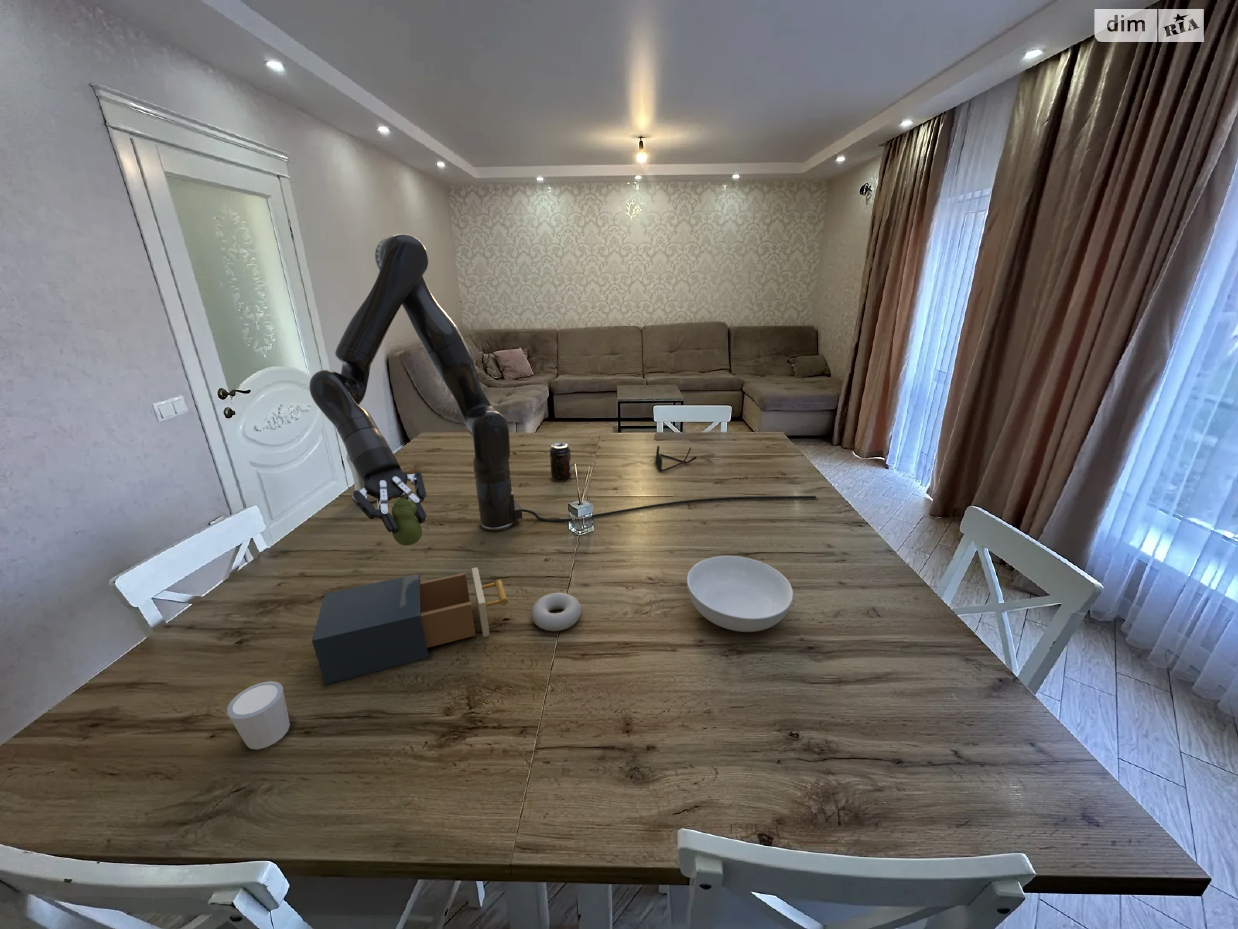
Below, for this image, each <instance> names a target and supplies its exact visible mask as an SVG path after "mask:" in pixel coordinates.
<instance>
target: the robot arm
mask: <svg viewBox="0 0 1238 929" xmlns="http://www.w3.org/2000/svg"><path fill="white" fill-rule="evenodd" d="M374 261H375V264H376V267H377V269H378V275H377V277H376V279H375V281H374V284H373V285H372V288H371V290H370V291H369V293H368V294H367V296H366V297H365V299H364V301H363V302H362V304H360V306H359V308H358V309H357V310H356V312H355V313H354V315H353V316H352V317H351V319H350V321H349V322H348V324H347V326H346V328H345V330H344V331H343V334H342V336H341V337H340V340H339V342H338V344H337V345H336V347H335V352H334V355H335V357H336V359H337V360H338V361H339V362H340V363H341V371H340V373H339V372H337V371H334V370H331V369H322V370H318V371H317V372H315V373H314V374H313V375H312V376H311V378H310V379H309V384H308V385H309V386H308V389H309V394H310V396H311V398H312V400H313V402H314V403H315V405H316V406H317V407H318V409H319V411H321V412H322V413H323V415H324V417H325V418H327V419H328V420H329V421H330V423H332V425H333V426H334V427H335V429H336V431H337V434H338V435H339V437H340V439H341V441H342V443H343V445H344V447H345V450H346V454H347V453H348V455H349V457H350V461H351V462H352V463H353V465H354V467H355V469H356V471H357V473H358V474H359V476H360V478H361V480H362V482H363V484H364V488H363V489H361V490H359V491H358V490H355V489H354V490H353V493H352V495H351V500H352V502H354V504H355V505H356V506H357V508H359V510H361V511H362V513H363V514H364V515H365V516H366V517H367V518H368V519H369V520H374V519H379V520H381V521H382V523H383V525H384V527H385V529H386V531H387V532H388V533H391V534H392V533H393V534H395V533H397V532H398V527H397V525H396V523H395V521H394V519H393V516H392V512H389V506H388V503H389V502H390V501H391V500H394V499H401V498H403V499H409V500H413V501H414V502H415V505H416V507H417V511H416V513H415V518H416V520H417V521H418V522H419V524H420V525H421V524H424V523H425V522H426V518H427V512H426V511H425V510H424V507H423V506H422V504H421V503H423V502H424V500H425V498H426V497H427V490H426V487H425V483H424V479H423V475H422V472H421V471H416V472H415V473H412V474H409V473H408V474H407V473H406V472H405V471H403V470H402V468H401V465H400V464H399V462H398V460H397V458H396V456H395V454H394V453H393V451H392V449H391V447H390V445H389V444H388V441H387V439H386V438H385V437H384V435H383V434H382V433H381V431H380V430H379V428H378V426H377V424H376V422H375V420H374V419H373V416H372V415H371V414H370V412H369V411H368V410H366V409H365V408H363V407H362V406H361V405H360V404H361V403H362V402H363V400H364V398H365V396H366V393H367V389H368V383H369V378H370V372H371V366H372V363H373V362H374V359H375V358H376V356H377V353H378V352H379V350H380V348H381V346H382V344H383V341H384V339H385V337H386V335H387V333H388V331H389V330H390V327H391V325H392V323H393V321H394V320H395V317H396V315H397V314H398V312H399V311H400V309H401V307H402V308H403V309H404V311H405V314H406V315H407V317H408V319H409V321H410V323H411V326H412V327H413V329H414V332H415V334H416V336H417V337H418V339H419V342H420V343H421V345H422V347H423V349H424V351H425V353H426V356H427V357H428V359H429V361H430V362H431V365H432V366H433V367H434V369H435V371H436V373H437V374H438V376H439V378H440V379H441V381H442V382H443V384H444V386H446V388H447V389H448V391H449V392H450V394H451V395H452V397H453V399H454V401H455V403H456V406H457V407H458V410H459V412H460V415H461V417H462V420H463V423H464V425H465V428H466V430H467V432H468V433H469V435H470V436H471V437H472V441H473V450H474V457H473V459H472V465H473V473H474V480H475V490H476V497H477V504H478V512H479V523H480V527H481V528H482V529H483V530H485V531H487V532H499V531H504V530H507V529H509V528H511V527H513V526H516V525H517V520H520V519H521V520H522V519H523V513H528V514H531V515H533V516H534V517H535V518H536V519H537V520H539V521H541V522H548V523H549V522H550V523H551V522H552V523H558V522H560V523H561V522H573V521H572V518H573V517H569V518H556V519H549V518H545V517H541V516H539V515H538V513H537V512H536V511H533V510H530V509H525V508H522V506H521V505H520V503H519V501H515V498H514V497H515V496H514V492H513V490H512V479H511V478H512V477H511V469H510V457H511V441H510V428H509V424H508V421H507V419H506V417H505V416H504V415H503V414H502V413H501V412H499V410H497V409H496V408H495V407H494V406H493V405H492V403H491V402H490V400H489V399H488V397H487V395H486V393H485V392H484V390H483V388H482V386H481V384H480V381H479V378H478V374H477V369H476V366H475V362H474V359H473V356H472V354H471V351H470V348H469V347H468V345H467V343H466V341H465V339H464V337H463V335H462V333H461V330H460V329H459V328H458V326H457V325H456V324H455V322H454V320H452V318H451V317H450V315H448V313H447V312H446V311H445V310H444V309H443V308H442V307H441V305H440V304H439V303H438V301H437V300H436V298H435V297H434V296H433V294H432V292H431V290H430V288H429V285H428V284H427V281H426V279H425V276H424V274H425V273H426V272H427V270H428V267H429V253H428V251H427V249H426V247H425V245H424V244H423V242H422V241H421V240H420V239H419V238H417V237H415V236H414V235H410V234H408V233H397V234H393V235H390V236H388V237H386V238H383V239H382V240H380V241H379V242H378V243H377V245H376V247H375V250H374ZM407 482H409V483H410V484H411V485H412V486H413V487H414V490H415V493H414V492H413V491H412V489H411V488H410V487H409V486H408V485H407V484H408V483H407ZM366 493H367V494H369V495H371V496H373V497H375V498H377V500H376V502H377V508H376V507H375V506H374V505H373V504H372V502H369V501H368V500H367V495H366ZM816 498H817V496H816V495H761V496H760V495H759V496H756V495H754V496H752V495H751V496H725V497H723V496H721V497H707V498H697V499H685V500H678V501H670V502H663V503H656V504H655V503H654V504H649V505H644V506H643V505H642V506H637V507H631V508H624V509H619V510H613V511H607V512H601V513H595V514H591V515H592V517H591V518H596V517H604V516H609V515H614V514H615V515H616V514H622V513H627V512H632V511H638V510H639V511H640V510H644V509H651V508H657V507H666V506H673V505H679V504H689V503H698V502H708V501H709V502H710V501H726V500H727V501H728V500H760V499H761V500H762V499H763V500H764V499H766V500H767V499H769V500H771V499H772V500H773V499H816ZM393 534H392V535H393Z"/></svg>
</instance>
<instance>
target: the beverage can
mask: <svg viewBox="0 0 1238 929" xmlns="http://www.w3.org/2000/svg"><path fill="white" fill-rule="evenodd" d="M571 456H572V454H571V448H570V446H569V443H567V442H555V443H552V444H551V448H550V449H549V462H550V476H551V478H552V480H555V481H557V482H566V481H567V480H569V479H570V478H572V459H571Z"/></svg>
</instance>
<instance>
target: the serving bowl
mask: <svg viewBox="0 0 1238 929" xmlns="http://www.w3.org/2000/svg"><path fill="white" fill-rule="evenodd" d="M686 586H687V587H686V588H687V592H688V597H689V599H690V602H691V603H692V605H693V606H694V608H695V609H696V610H697V611H698V613H699V614H700V615H702V617H704V618H705V619H706V620H707V621H709V622H711V623H712V624H714V625H716V626H719V627H721V628H723V629H727V630H730V631H735V632H741V633H754V632H755V633H756V632H761V631H765V630H767V629H770V628H772V627H775V625H777V624H778V623H780V622H781V621H782V620H783V619H784V618H785V617H786V616H787V614H788V612H789V611H790V608H791V607H792V604H793V600H794V589H793V587H792V585H791V583H790V581H789V580H788V579H787V578H786V576H784V574H782V572H780V571H778V570H777V569H776V568H775V567H772V566H771V565H769V564H766V563H765V562H762V561H760V560H757V559H753V558H749V557H745V556H738V555H718V556H713V557H708V558H705V559H702V560H701V561H698V562H697V563H695V564H694V565H693V566H692V567H691V568H690V569H689V571H688V573H687V577H686Z"/></svg>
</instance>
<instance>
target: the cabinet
mask: <svg viewBox="0 0 1238 929" xmlns="http://www.w3.org/2000/svg"><path fill="white" fill-rule="evenodd" d="M420 582H421V578H420V574H419V573H417V574H411V575H407V576H401V577H397V578H393V579H388V580H383V581H377V582H374V583H373V582H372V583H368V584H364V585H359V586H354V587H349V588H343V589H338V590H333V591H329V592H325V593H324V595H323V598H322V602H321V605H320V609H319V613H318V618H317V620H316V624H315V628H314V631H313V635H312V638H311V643H312V646H313V649H314V652H315V655H316V659H317V663H318V666H319V668H320V671H321V675H322V678H323V683H324V685H325V686H327V685H330V684H334V683H338V682H342V681H344V680H345V681H346V680H350V679H355V678H357V677H361V676H364V675H368V674H372V673H376V672H380V671H383V670H387V669H388V670H389V669H391V668H395V667H398V666H402V665H406V664H410V663H413V662H418V661H421V660H425V659H429V648H427V647H426V641H425V636H424V631H423V626H422V621H421V613H420Z"/></svg>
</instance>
